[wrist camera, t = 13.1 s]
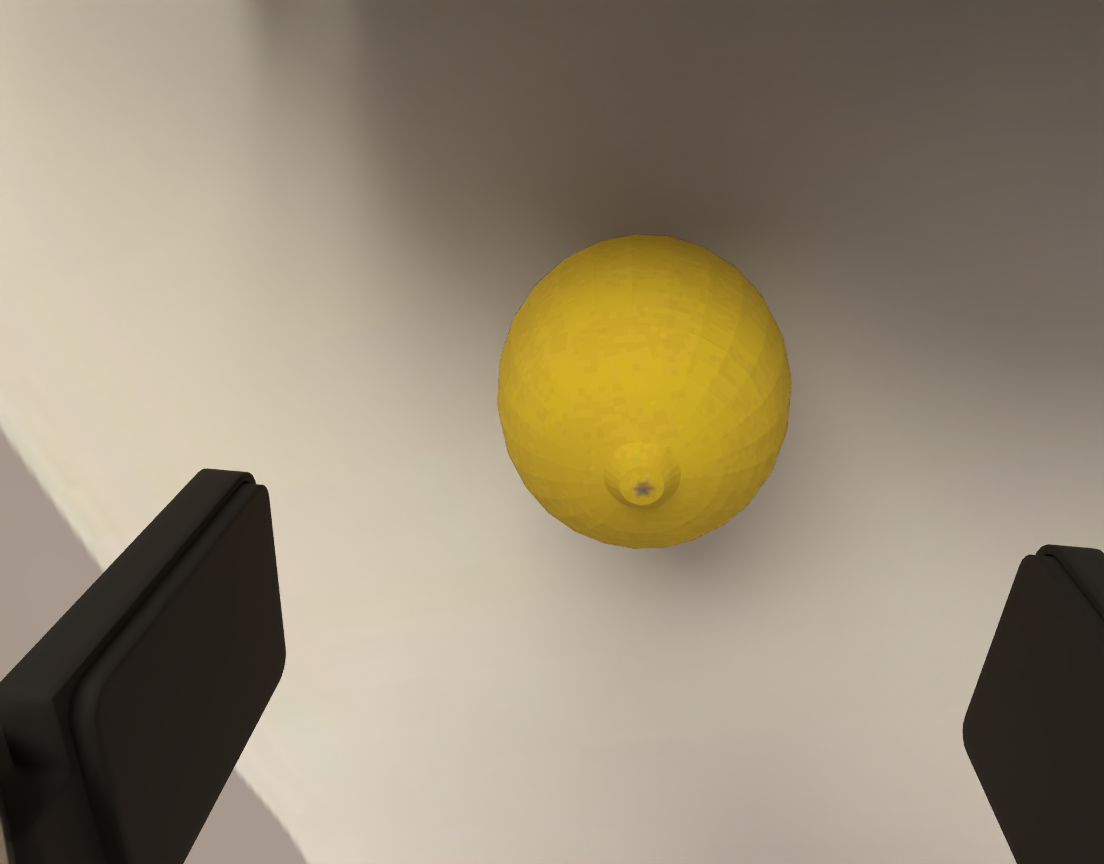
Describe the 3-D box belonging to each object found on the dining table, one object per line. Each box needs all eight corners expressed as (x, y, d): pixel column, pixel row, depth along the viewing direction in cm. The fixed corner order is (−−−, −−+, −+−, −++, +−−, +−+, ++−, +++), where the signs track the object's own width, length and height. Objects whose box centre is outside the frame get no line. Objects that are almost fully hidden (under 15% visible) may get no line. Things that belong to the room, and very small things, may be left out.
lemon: (546, 435, 22) (501, 644, 15) (504, 218, 19) (426, 341, 12) (768, 409, 21) (835, 619, 14) (753, 179, 18) (823, 287, 11)
